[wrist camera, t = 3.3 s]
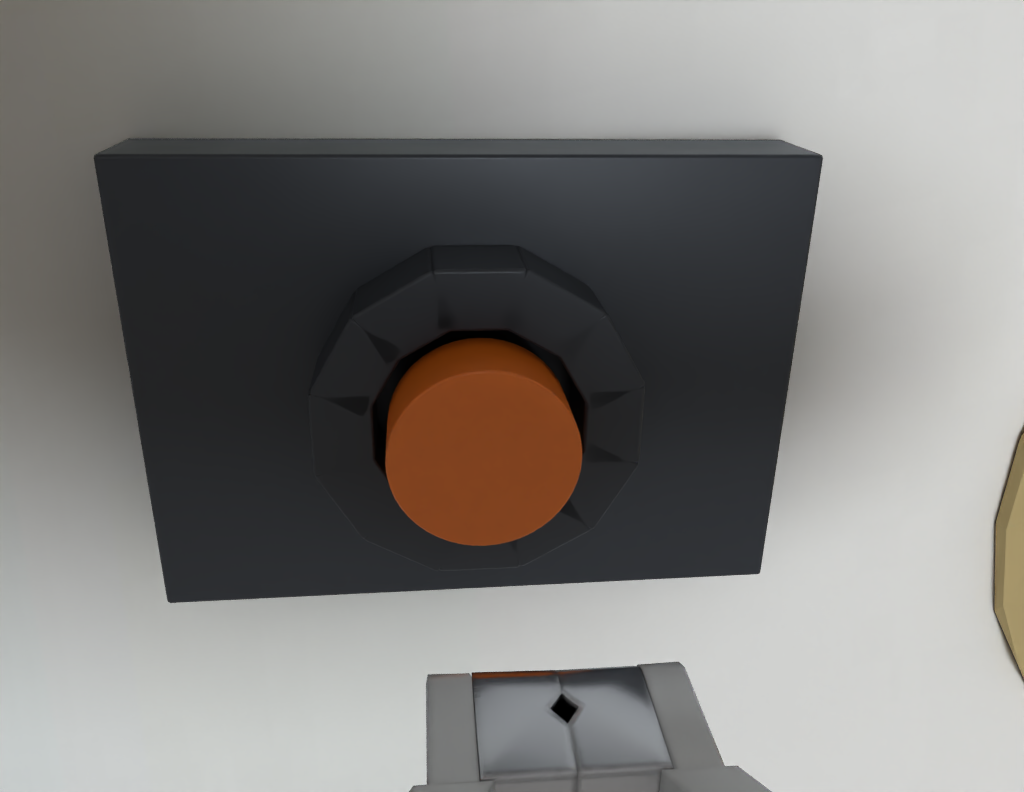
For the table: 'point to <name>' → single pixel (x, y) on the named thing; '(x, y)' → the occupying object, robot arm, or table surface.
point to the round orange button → (481, 442)
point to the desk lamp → (1011, 559)
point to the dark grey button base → (446, 318)
